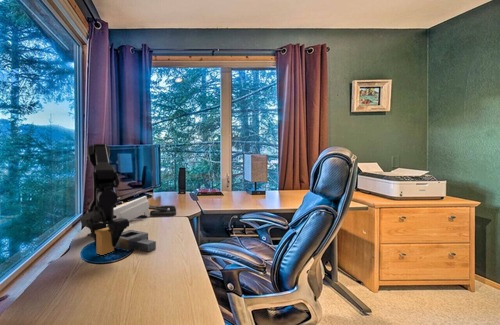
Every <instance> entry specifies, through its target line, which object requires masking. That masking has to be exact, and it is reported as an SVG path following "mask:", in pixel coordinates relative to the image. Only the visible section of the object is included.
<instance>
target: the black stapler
mask: <svg viewBox="0 0 500 325" xmlns="http://www.w3.org/2000/svg"><path fill="white" fill-rule="evenodd" d="M149 205H150V204H149ZM149 212H150V217H174V216H176V215H177V208H176V206H175V205H171V204H170V205H169V204H167V205H160V206H158V205H152V204H151V205H150V207H149Z"/></svg>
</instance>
